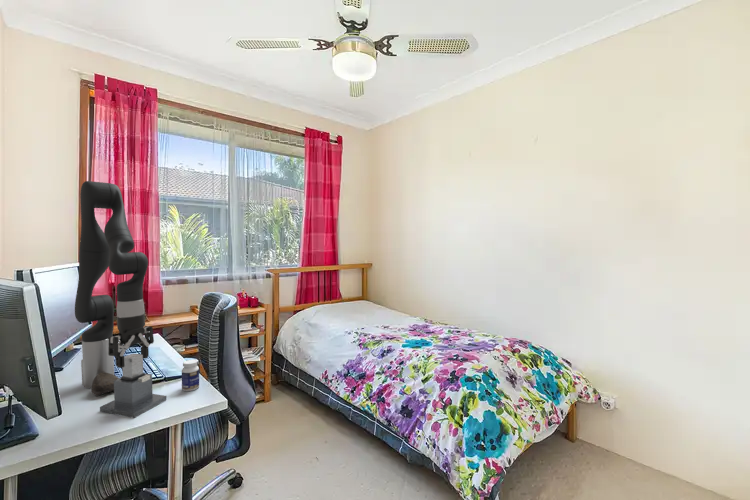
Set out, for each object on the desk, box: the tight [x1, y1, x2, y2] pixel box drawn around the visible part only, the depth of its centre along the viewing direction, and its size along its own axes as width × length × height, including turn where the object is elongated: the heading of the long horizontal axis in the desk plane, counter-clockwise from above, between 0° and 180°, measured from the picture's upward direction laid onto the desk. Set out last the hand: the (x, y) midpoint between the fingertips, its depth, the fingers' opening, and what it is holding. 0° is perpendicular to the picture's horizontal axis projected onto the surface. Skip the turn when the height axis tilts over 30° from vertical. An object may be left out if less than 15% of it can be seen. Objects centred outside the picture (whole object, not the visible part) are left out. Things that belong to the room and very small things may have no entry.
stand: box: [99, 373, 167, 418], centre depth 120 cm, size 14×12×10 cm
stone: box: [91, 372, 120, 397], centre depth 130 cm, size 10×8×10 cm
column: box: [120, 353, 146, 382], centre depth 119 cm, size 5×5×15 cm
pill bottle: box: [181, 359, 200, 392], centre depth 133 cm, size 6×6×10 cm
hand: (133, 362), depth 119 cm, fingers open, 8 cm apart
